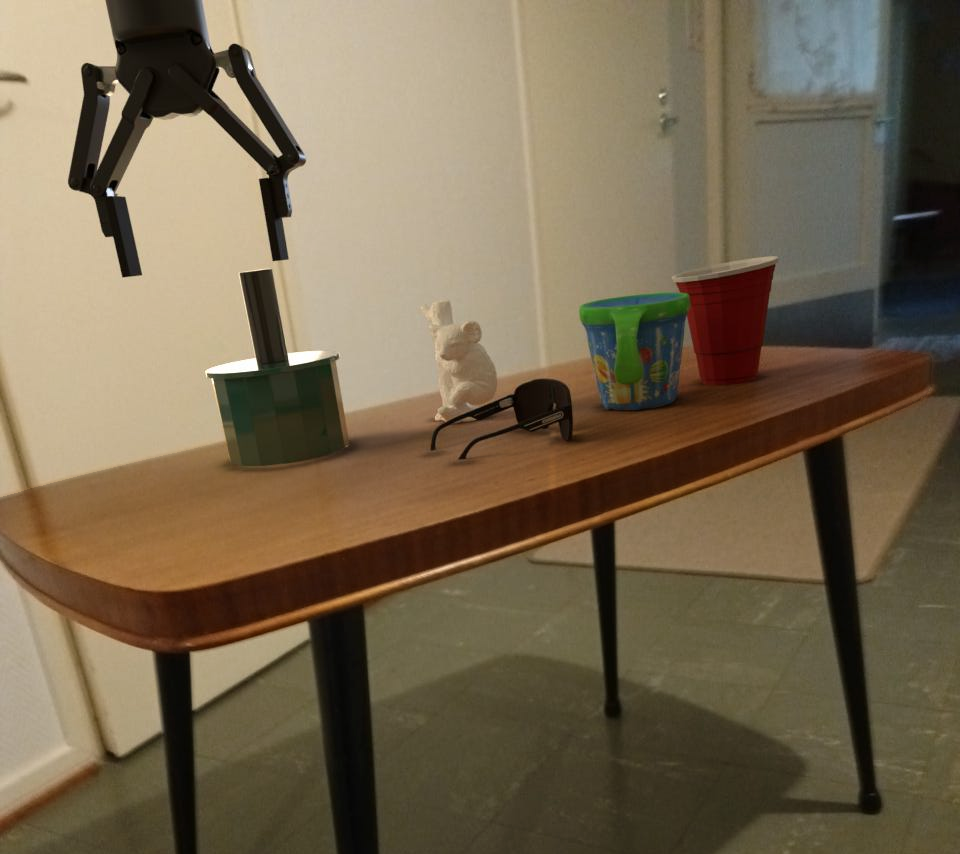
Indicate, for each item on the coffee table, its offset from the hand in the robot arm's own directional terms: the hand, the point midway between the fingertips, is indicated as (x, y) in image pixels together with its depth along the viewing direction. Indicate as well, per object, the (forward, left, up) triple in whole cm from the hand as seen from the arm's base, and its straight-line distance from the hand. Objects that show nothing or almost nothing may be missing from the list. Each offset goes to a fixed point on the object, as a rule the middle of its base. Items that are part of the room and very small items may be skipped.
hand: (206, 269), depth 87 cm
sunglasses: (+25, -4, -18) cm, 31 cm away
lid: (+4, +2, -9) cm, 10 cm away
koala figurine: (+20, +12, -18) cm, 29 cm away
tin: (+4, +2, -18) cm, 18 cm away
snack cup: (+38, +10, -18) cm, 43 cm away
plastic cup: (+48, +19, -18) cm, 54 cm away
